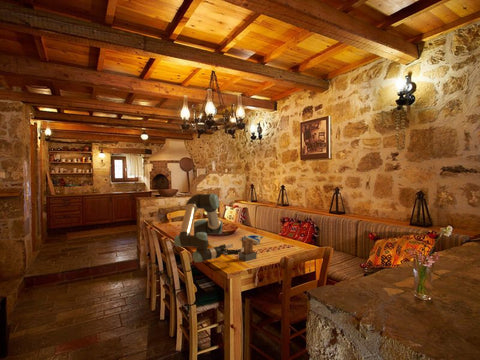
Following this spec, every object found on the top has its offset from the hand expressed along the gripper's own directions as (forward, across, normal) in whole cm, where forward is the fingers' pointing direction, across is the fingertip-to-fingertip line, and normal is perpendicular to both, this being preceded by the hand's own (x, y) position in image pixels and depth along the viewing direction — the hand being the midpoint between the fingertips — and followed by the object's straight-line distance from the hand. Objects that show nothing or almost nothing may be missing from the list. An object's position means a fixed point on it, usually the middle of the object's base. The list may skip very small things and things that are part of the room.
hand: (237, 247), depth 198 cm
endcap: (+9, 0, -10) cm, 14 cm away
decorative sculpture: (+49, -38, -11) cm, 63 cm away
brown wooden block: (+9, 0, -10) cm, 13 cm away
